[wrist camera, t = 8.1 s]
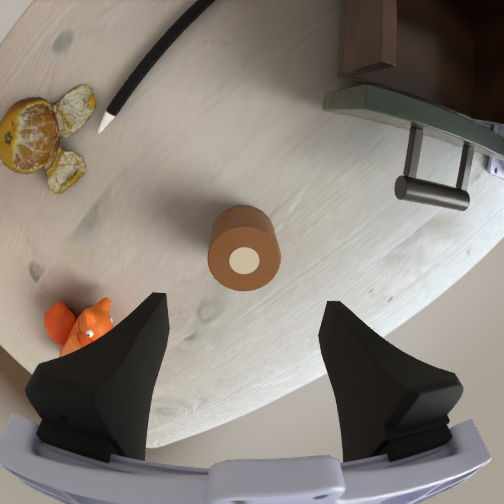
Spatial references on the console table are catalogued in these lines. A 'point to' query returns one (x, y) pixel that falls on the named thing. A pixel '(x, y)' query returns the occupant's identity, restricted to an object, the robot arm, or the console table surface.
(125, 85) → the pen
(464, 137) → the drawer
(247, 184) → the console table surface
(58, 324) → the orange chunky figure
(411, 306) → the console table surface
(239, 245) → the brown short cylinder
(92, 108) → the fruit
